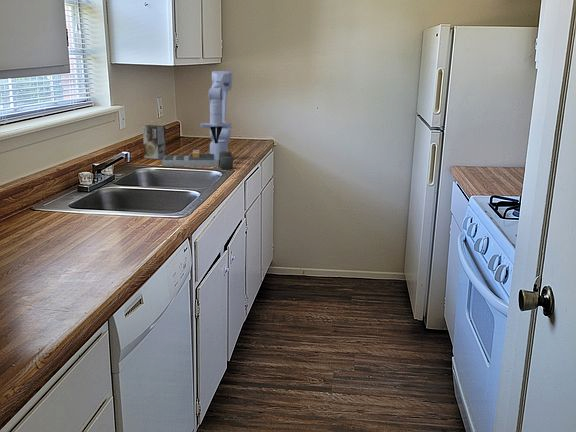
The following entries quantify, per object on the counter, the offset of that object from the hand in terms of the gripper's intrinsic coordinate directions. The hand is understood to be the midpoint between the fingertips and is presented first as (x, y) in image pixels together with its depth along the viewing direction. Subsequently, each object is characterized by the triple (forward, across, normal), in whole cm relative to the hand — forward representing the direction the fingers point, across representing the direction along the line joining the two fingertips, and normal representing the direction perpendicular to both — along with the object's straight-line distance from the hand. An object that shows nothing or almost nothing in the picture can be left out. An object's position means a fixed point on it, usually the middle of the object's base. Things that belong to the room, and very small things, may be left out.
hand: (216, 143), depth 274 cm
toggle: (+7, -10, -2) cm, 12 cm away
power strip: (+10, -12, +1) cm, 16 cm away
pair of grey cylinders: (+10, +5, -2) cm, 11 cm away
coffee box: (+11, -31, +19) cm, 38 cm away
